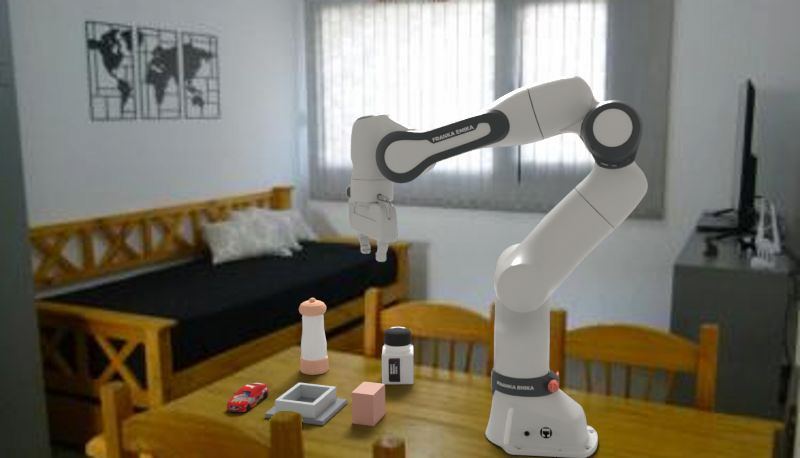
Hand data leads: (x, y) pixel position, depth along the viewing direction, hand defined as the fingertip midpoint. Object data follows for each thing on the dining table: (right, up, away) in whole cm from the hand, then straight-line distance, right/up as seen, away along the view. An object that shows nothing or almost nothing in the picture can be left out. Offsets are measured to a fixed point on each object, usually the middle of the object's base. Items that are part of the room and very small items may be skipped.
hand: (373, 257), depth 162 cm
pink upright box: (-1, -36, +5) cm, 36 cm away
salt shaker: (-17, -31, +36) cm, 50 cm away
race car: (-29, -35, +15) cm, 48 cm away
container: (+5, -32, +29) cm, 43 cm away
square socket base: (-15, -35, +10) cm, 39 cm away
